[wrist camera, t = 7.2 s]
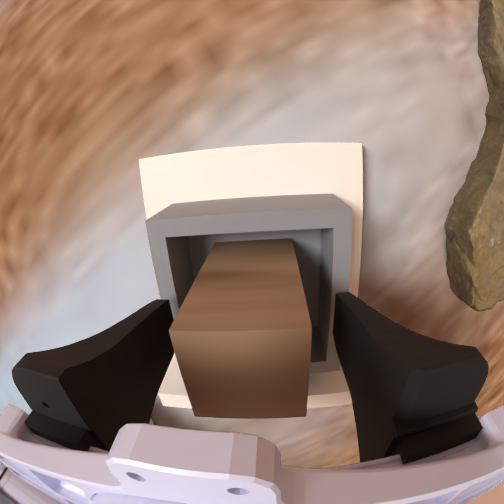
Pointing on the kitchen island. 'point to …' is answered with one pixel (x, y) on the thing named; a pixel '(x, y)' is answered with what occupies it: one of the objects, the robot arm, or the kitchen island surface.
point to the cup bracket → (261, 232)
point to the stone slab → (482, 185)
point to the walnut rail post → (245, 333)
